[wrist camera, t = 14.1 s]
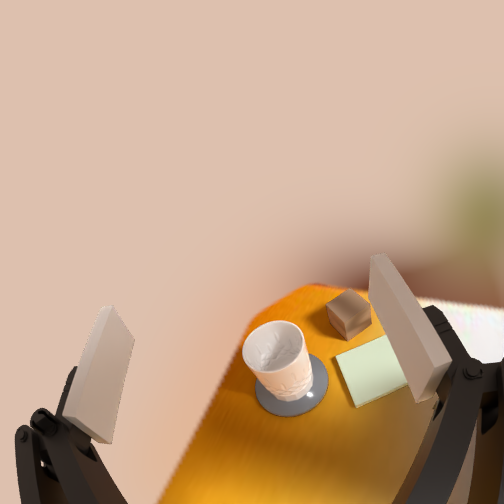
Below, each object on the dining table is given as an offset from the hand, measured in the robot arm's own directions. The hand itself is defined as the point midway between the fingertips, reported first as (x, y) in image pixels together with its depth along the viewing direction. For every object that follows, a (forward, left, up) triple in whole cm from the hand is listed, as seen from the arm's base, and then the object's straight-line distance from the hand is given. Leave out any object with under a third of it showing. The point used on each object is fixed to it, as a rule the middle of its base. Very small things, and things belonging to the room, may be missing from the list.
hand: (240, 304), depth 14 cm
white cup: (+2, -13, -30) cm, 32 cm away
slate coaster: (+2, -13, -30) cm, 33 cm away
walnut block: (-10, -20, -30) cm, 37 cm away
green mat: (-10, -10, -30) cm, 33 cm away
